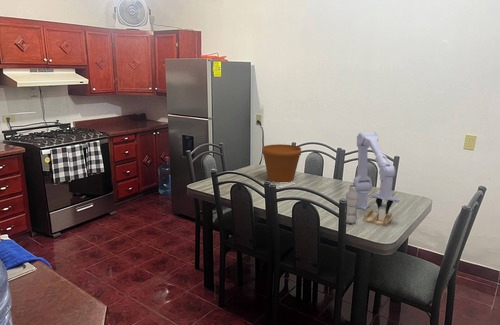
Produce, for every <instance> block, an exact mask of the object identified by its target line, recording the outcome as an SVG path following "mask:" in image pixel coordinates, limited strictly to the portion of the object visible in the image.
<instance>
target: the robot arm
mask: <svg viewBox="0 0 500 325" xmlns="http://www.w3.org/2000/svg"><path fill="white" fill-rule="evenodd" d="M378 141H379V136H378V134H377V132H376V131H373V132H359V133H358V134H357V136H356V147H358V148H357V167H358V168H357V175H356V176H355V177H354V178H353V181H352V185H355V186H357V190H356V192H357V193H358V195H359V198H358V202H357V209H363V210H366V209H368V207H369V206H370V204H368V199H369V198H368V197H369V193H370V191H372V189H373V183H372V178H371V177H370V176H368V154H369V153H368V149H369V148H370V149H371V151H372V152H373V154H374V156H375V159H374V160H375V163H376V165H377V166H378V168H379V170H378V174H379V180H380V185H379V194H378V193H370V198H371V199H376V200H375V203H376V206H377V208H378V209H377V210H379V207H380V206H381V205H382V204H383V201H386V204H387V208H386V214H389V211H390V208H391V206H392V204H393V203H397V204H400V202H401V201H400V200H401V198H399V197H396V196H395V197H394V196H392V190H393V180H394V179H393V178H394V177H395V176H396V175H397V169H396V167H395V165H393V164H391V162H390V160H389V159H388V157H387V155H386V154H384V153H383V151H382V150H381V147H380V145H379V142H378Z"/></svg>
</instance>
